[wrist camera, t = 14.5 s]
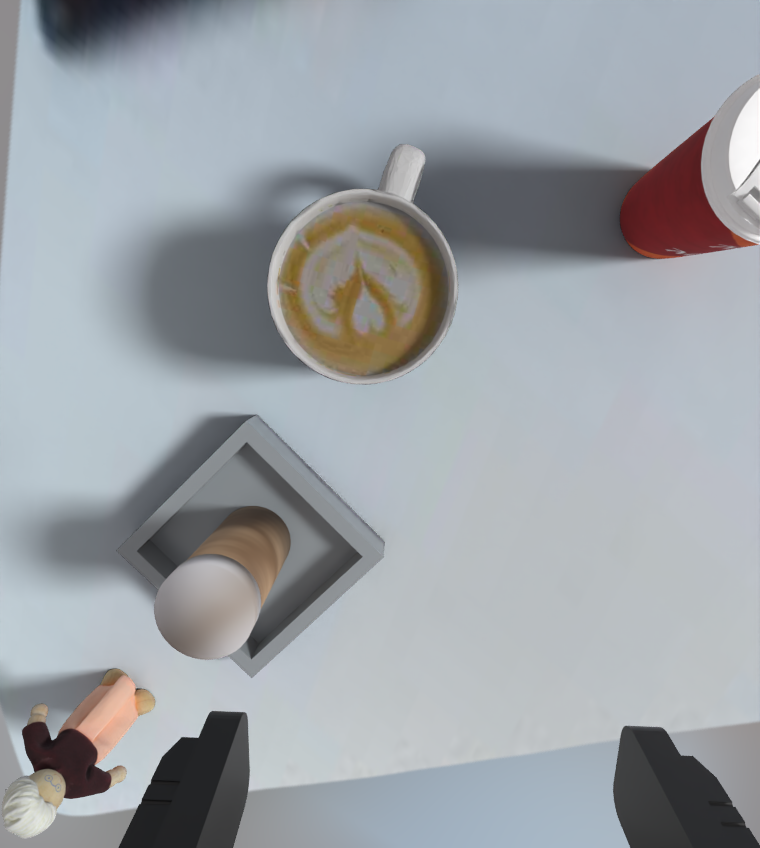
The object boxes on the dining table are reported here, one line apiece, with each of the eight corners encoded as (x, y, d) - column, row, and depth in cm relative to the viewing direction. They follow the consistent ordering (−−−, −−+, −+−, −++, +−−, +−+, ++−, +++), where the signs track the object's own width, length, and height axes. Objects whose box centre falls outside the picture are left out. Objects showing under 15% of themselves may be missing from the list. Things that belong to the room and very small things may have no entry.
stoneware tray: (135, 535, 43) (116, 550, 40) (257, 414, 41) (246, 420, 38) (261, 655, 44) (251, 678, 41) (384, 541, 42) (383, 557, 39)
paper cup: (661, 299, 39) (804, 279, 25) (578, 222, 39) (679, 158, 25) (747, 207, 38) (945, 135, 24) (663, 126, 38) (818, 5, 24)
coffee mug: (398, 398, 41) (398, 418, 31) (273, 328, 40) (233, 326, 30) (497, 225, 39) (531, 188, 29) (367, 149, 38) (357, 85, 28)
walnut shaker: (202, 539, 42) (133, 610, 31) (253, 489, 41) (201, 543, 30) (255, 591, 42) (206, 678, 32) (307, 542, 42) (275, 614, 31)
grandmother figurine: (176, 694, 45) (89, 834, 32) (152, 732, 45) (58, 884, 33) (88, 644, 44) (-33, 766, 32) (66, 683, 45) (-63, 817, 32)
